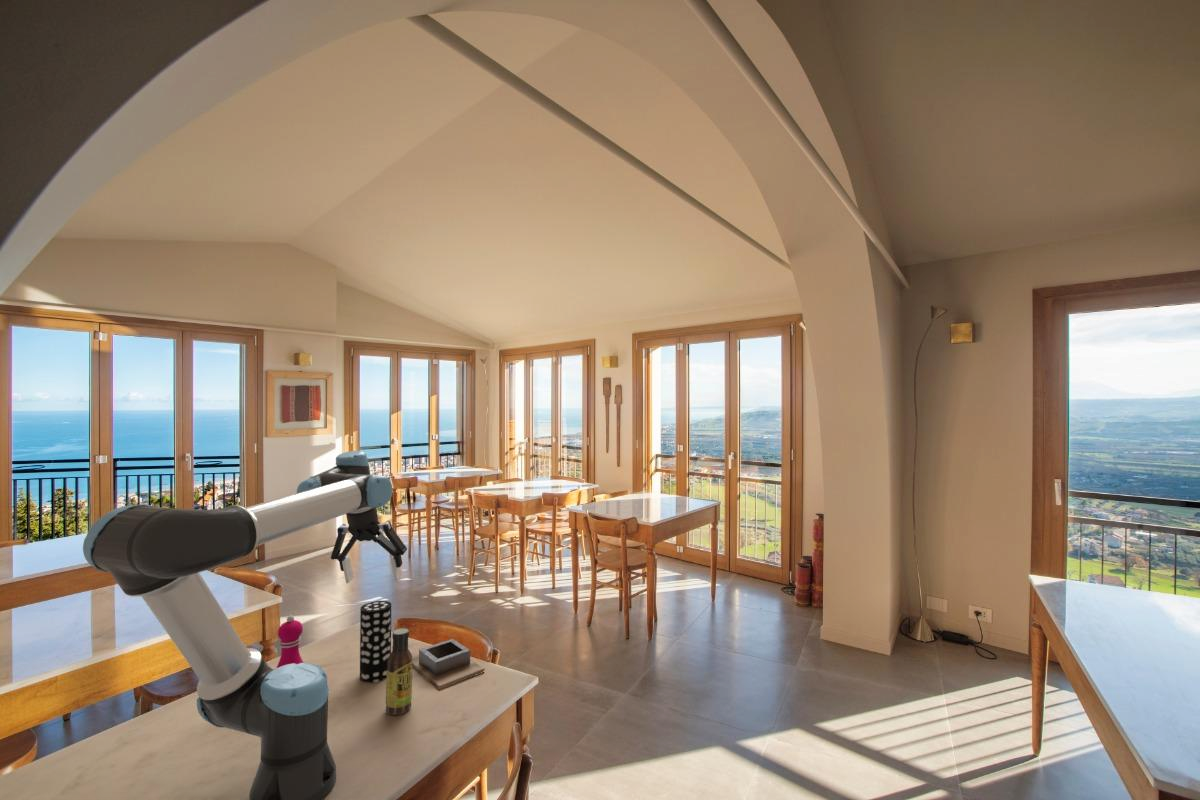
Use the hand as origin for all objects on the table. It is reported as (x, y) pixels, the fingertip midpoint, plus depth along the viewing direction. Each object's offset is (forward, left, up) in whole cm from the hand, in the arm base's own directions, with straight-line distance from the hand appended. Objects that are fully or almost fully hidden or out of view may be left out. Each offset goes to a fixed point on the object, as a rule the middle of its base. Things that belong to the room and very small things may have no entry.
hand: (373, 579), depth 145 cm
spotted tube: (+7, -3, -30) cm, 31 cm away
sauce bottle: (-15, -1, -30) cm, 34 cm away
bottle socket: (-2, -20, -30) cm, 36 cm away
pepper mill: (+16, +17, -30) cm, 38 cm away
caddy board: (-2, -20, -30) cm, 36 cm away
